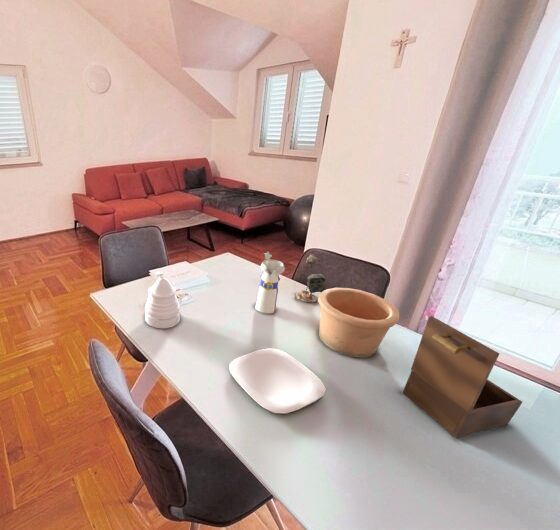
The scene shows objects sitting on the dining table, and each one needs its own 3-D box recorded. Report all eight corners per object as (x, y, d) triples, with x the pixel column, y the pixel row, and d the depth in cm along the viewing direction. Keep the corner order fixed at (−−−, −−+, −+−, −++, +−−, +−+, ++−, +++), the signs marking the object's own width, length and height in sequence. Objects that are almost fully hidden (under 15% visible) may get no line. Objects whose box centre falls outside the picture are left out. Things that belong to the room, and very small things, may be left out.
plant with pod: (322, 307, 123) (333, 260, 115) (291, 299, 129) (300, 254, 120) (324, 298, 129) (335, 253, 121) (295, 291, 135) (304, 248, 127)
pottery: (311, 316, 117) (319, 282, 111) (380, 331, 109) (392, 295, 103) (309, 351, 99) (318, 312, 93) (392, 372, 91) (408, 331, 85)
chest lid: (431, 315, 73) (415, 319, 73) (499, 353, 61) (481, 358, 61) (413, 368, 80) (398, 372, 80) (471, 411, 68) (455, 416, 68)
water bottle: (275, 316, 117) (287, 254, 107) (252, 311, 120) (261, 251, 110) (278, 305, 124) (289, 247, 114) (256, 301, 127) (264, 243, 117)
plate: (272, 425, 75) (273, 420, 74) (219, 367, 92) (220, 363, 92) (335, 395, 83) (336, 390, 82) (275, 347, 101) (276, 342, 100)
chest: (448, 383, 87) (459, 361, 84) (507, 425, 75) (522, 401, 71) (402, 392, 84) (411, 370, 81) (455, 438, 72) (469, 413, 68)
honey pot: (138, 315, 118) (137, 272, 111) (167, 305, 124) (167, 264, 117) (157, 332, 108) (156, 286, 101) (186, 321, 114) (188, 277, 107)
